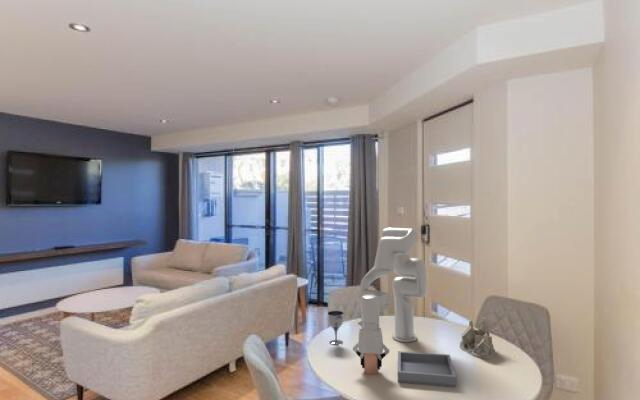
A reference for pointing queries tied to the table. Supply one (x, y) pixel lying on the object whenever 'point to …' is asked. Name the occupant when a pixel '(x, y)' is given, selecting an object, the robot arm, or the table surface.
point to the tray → (426, 369)
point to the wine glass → (335, 324)
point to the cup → (371, 364)
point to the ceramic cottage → (478, 341)
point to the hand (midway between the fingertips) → (371, 367)
